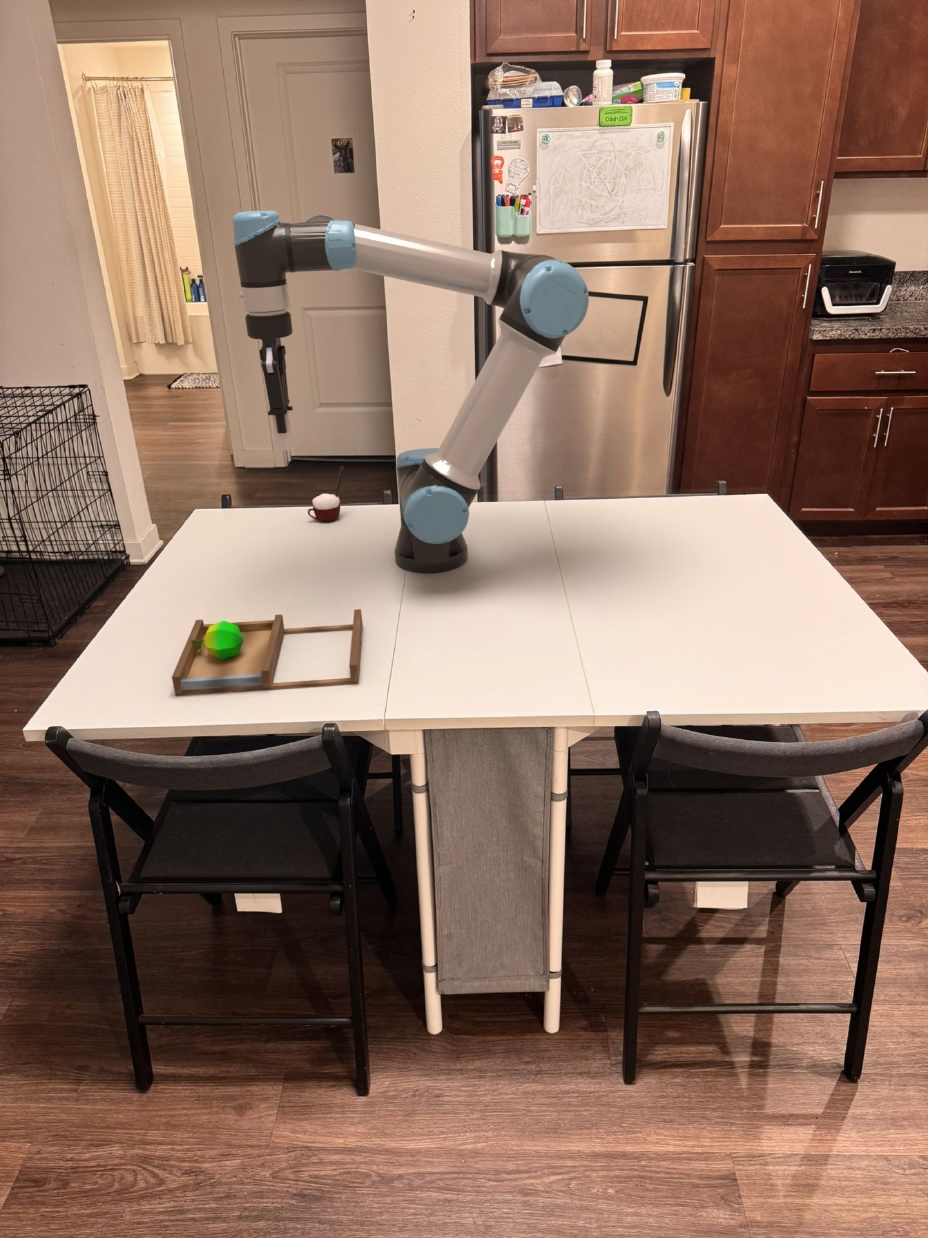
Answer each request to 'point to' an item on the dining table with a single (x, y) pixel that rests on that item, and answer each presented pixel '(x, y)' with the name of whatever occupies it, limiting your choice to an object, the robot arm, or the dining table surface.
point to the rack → (253, 659)
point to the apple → (222, 640)
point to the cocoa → (327, 504)
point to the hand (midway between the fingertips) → (285, 449)
